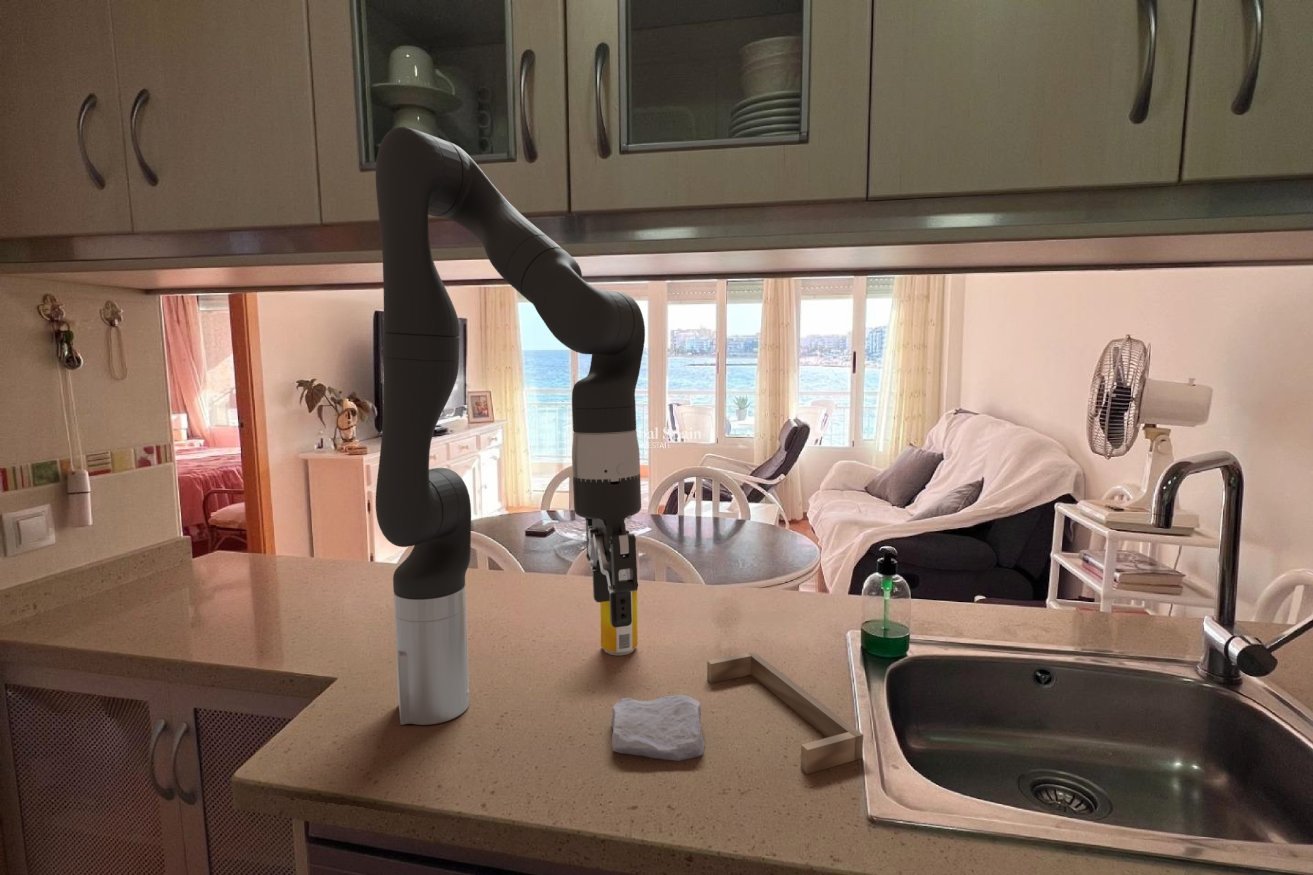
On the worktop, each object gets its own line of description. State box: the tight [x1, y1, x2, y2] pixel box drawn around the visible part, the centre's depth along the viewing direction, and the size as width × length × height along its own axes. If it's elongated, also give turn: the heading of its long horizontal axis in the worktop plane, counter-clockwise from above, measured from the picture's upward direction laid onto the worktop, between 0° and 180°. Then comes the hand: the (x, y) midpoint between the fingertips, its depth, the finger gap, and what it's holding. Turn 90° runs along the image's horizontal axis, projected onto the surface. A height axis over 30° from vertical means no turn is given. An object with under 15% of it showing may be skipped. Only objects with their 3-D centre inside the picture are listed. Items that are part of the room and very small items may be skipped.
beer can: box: [599, 573, 638, 656], centre depth 111 cm, size 6×6×15 cm
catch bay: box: [706, 651, 864, 775], centre depth 91 cm, size 8×25×3 cm, turn 23°
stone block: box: [610, 694, 706, 762], centre depth 85 cm, size 12×5×10 cm
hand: (611, 612), depth 76 cm, fingers open, 8 cm apart
